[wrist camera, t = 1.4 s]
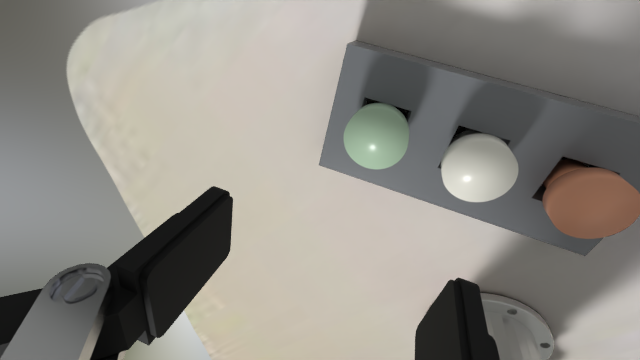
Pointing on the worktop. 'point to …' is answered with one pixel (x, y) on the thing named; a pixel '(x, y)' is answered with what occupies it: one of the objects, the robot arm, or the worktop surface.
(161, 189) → the worktop surface
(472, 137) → the ivory button
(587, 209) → the terracotta button
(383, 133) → the sage button
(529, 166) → the button panel
